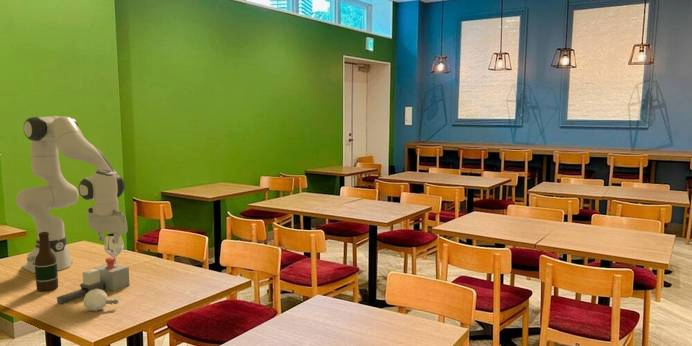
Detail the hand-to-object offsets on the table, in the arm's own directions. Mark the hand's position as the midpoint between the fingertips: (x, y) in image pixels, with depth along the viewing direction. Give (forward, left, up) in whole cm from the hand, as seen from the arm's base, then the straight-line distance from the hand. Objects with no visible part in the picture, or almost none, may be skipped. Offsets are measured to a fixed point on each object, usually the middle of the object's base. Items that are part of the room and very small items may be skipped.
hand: (108, 242), depth 209 cm
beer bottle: (-20, -15, -19) cm, 31 cm away
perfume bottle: (+19, -19, -19) cm, 33 cm away
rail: (0, -13, -19) cm, 23 cm away
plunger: (0, 0, -16) cm, 16 cm away
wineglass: (-13, +12, -19) cm, 26 cm away
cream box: (0, -9, -19) cm, 21 cm away
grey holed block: (0, 0, -19) cm, 19 cm away
